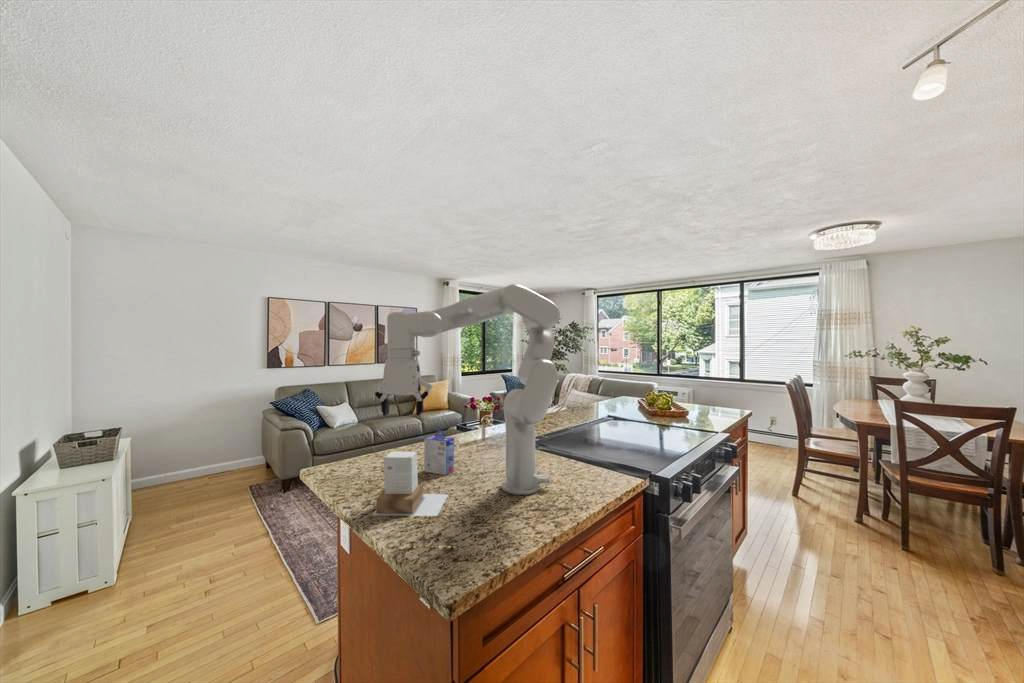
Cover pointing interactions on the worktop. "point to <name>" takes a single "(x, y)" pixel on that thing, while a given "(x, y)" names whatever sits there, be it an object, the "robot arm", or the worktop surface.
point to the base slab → (399, 502)
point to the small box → (400, 472)
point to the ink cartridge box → (439, 454)
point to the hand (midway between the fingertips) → (402, 414)
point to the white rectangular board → (425, 506)
